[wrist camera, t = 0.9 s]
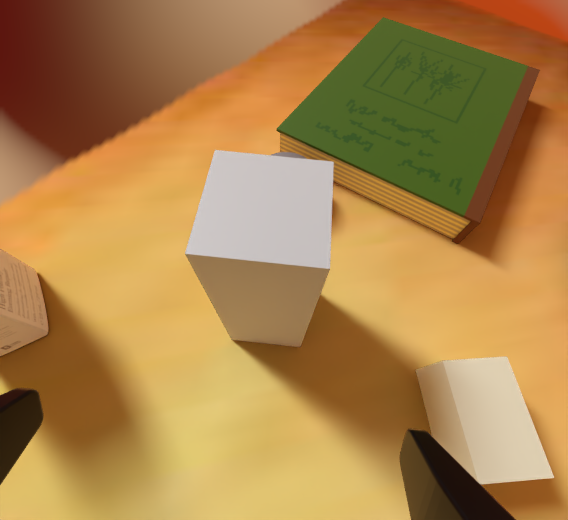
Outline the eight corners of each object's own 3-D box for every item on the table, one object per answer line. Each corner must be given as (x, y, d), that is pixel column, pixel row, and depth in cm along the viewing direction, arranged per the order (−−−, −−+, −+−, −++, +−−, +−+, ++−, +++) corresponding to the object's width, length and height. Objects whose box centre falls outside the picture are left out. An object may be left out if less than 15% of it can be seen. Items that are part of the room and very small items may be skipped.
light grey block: (300, 347, 22) (329, 268, 10) (231, 339, 22) (185, 253, 10) (305, 283, 24) (333, 161, 13) (243, 277, 24) (215, 150, 13)
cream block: (501, 466, 19) (554, 478, 15) (440, 471, 19) (479, 484, 15) (468, 366, 22) (506, 356, 18) (414, 370, 22) (442, 360, 18)
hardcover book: (454, 247, 27) (480, 222, 24) (276, 159, 31) (276, 128, 28) (517, 98, 37) (541, 66, 34) (376, 47, 41) (385, 14, 38)
